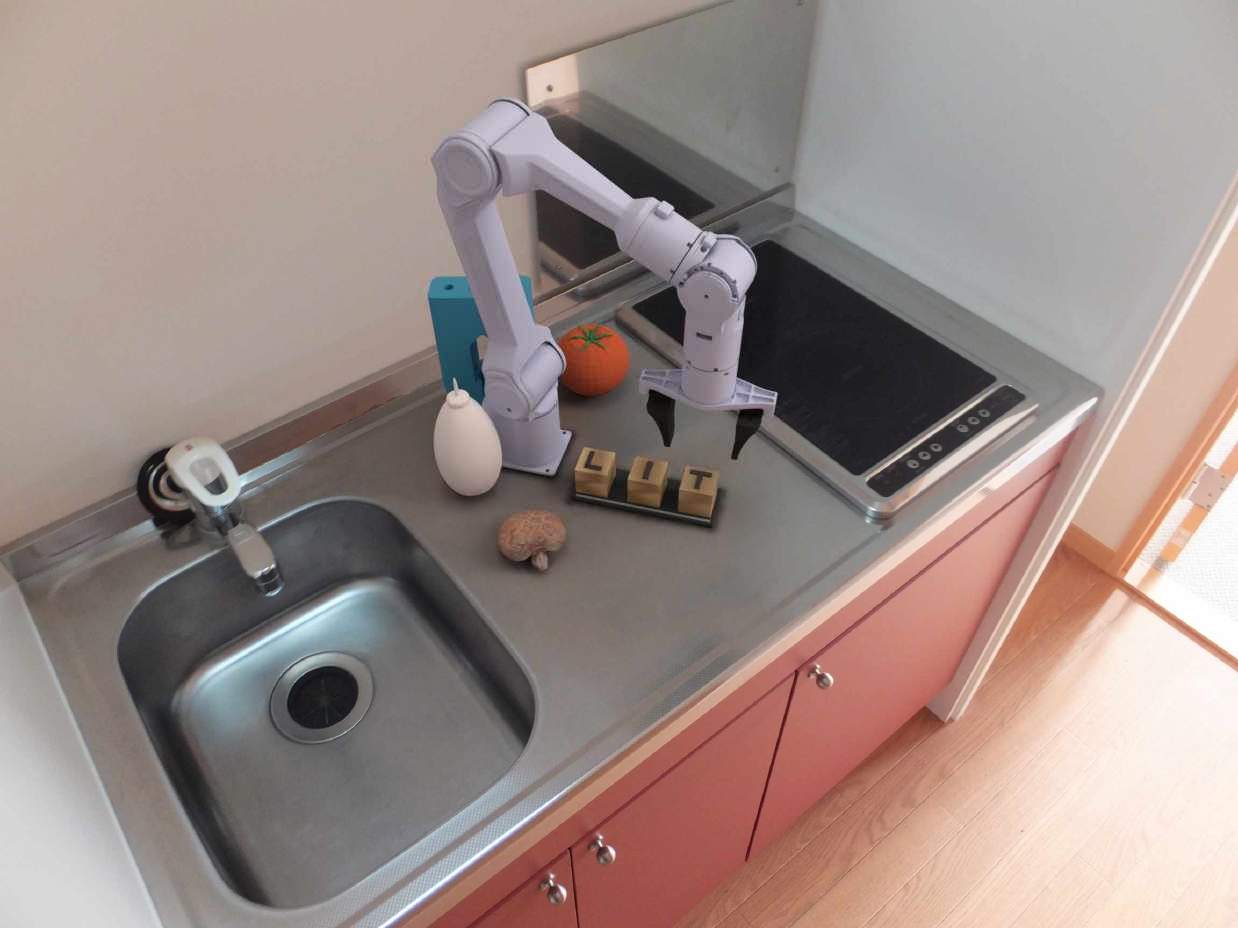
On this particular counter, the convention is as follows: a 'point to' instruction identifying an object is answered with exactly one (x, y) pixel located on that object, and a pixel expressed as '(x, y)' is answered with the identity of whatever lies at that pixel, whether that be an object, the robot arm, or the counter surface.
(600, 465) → the tile
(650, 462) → the tile
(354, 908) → the counter surface
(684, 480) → the tile
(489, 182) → the robot arm
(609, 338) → the tomato
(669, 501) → the black tile rack
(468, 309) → the block
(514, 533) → the mushroom
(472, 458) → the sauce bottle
